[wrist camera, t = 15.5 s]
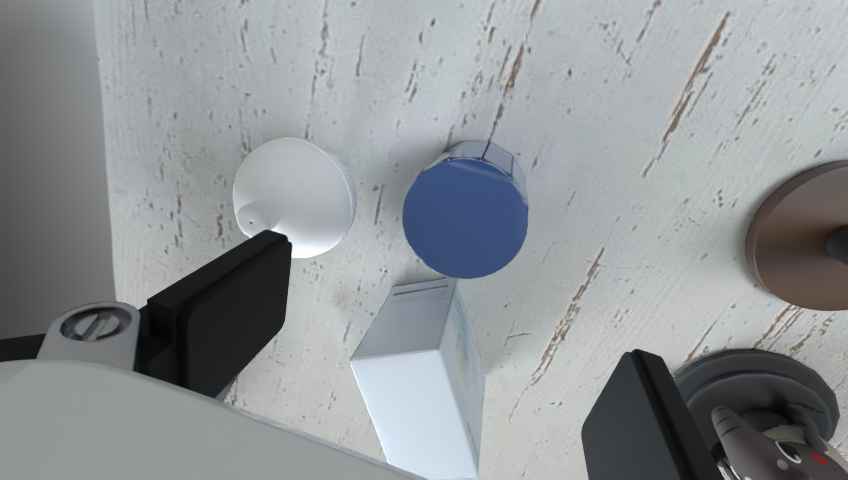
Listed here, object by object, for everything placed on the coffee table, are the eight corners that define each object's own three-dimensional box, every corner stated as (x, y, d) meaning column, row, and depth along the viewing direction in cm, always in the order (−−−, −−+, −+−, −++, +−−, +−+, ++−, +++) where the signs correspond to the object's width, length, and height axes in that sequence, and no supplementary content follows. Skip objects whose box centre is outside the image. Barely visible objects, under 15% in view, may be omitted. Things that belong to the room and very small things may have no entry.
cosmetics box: (489, 377, 36) (480, 483, 26) (422, 382, 38) (391, 484, 28) (462, 273, 33) (440, 351, 23) (390, 285, 35) (342, 361, 25)
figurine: (735, 484, 34) (835, 664, 24) (630, 403, 34) (684, 550, 23) (870, 415, 30) (1071, 600, 19) (751, 319, 29) (890, 455, 18)
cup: (411, 170, 30) (379, 197, 23) (495, 121, 28) (489, 133, 21) (457, 248, 32) (440, 296, 25) (541, 208, 29) (550, 248, 22)
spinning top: (279, 163, 33) (161, 203, 22) (344, 104, 30) (246, 116, 19) (338, 237, 34) (254, 309, 23) (406, 187, 31) (347, 243, 20)
